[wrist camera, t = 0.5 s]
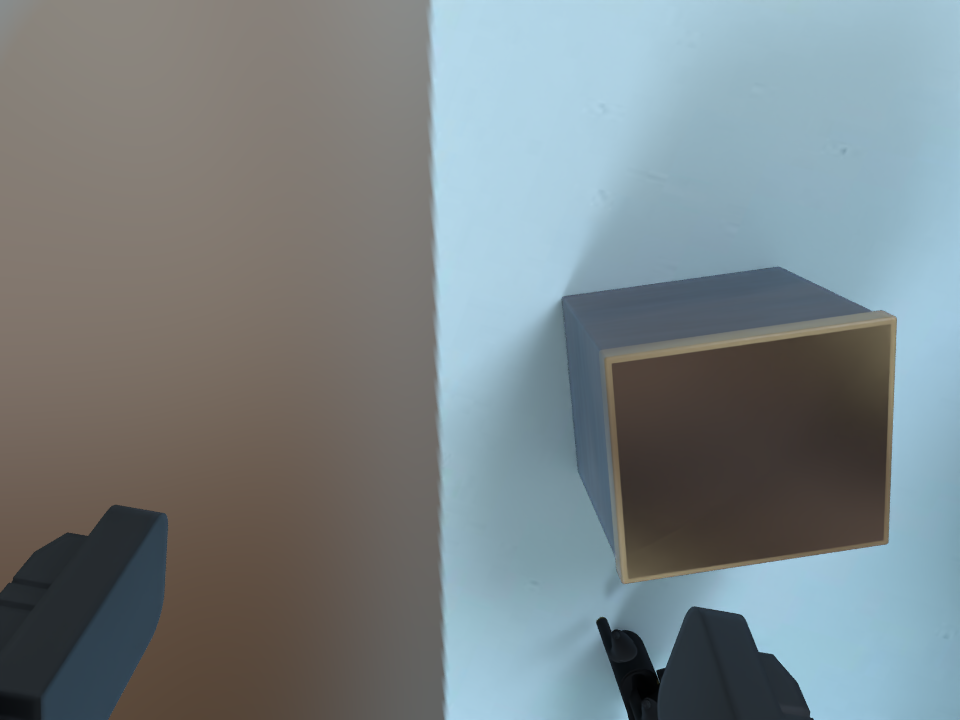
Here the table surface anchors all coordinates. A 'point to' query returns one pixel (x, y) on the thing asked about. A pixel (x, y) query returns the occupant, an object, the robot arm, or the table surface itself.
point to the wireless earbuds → (632, 671)
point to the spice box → (731, 420)
